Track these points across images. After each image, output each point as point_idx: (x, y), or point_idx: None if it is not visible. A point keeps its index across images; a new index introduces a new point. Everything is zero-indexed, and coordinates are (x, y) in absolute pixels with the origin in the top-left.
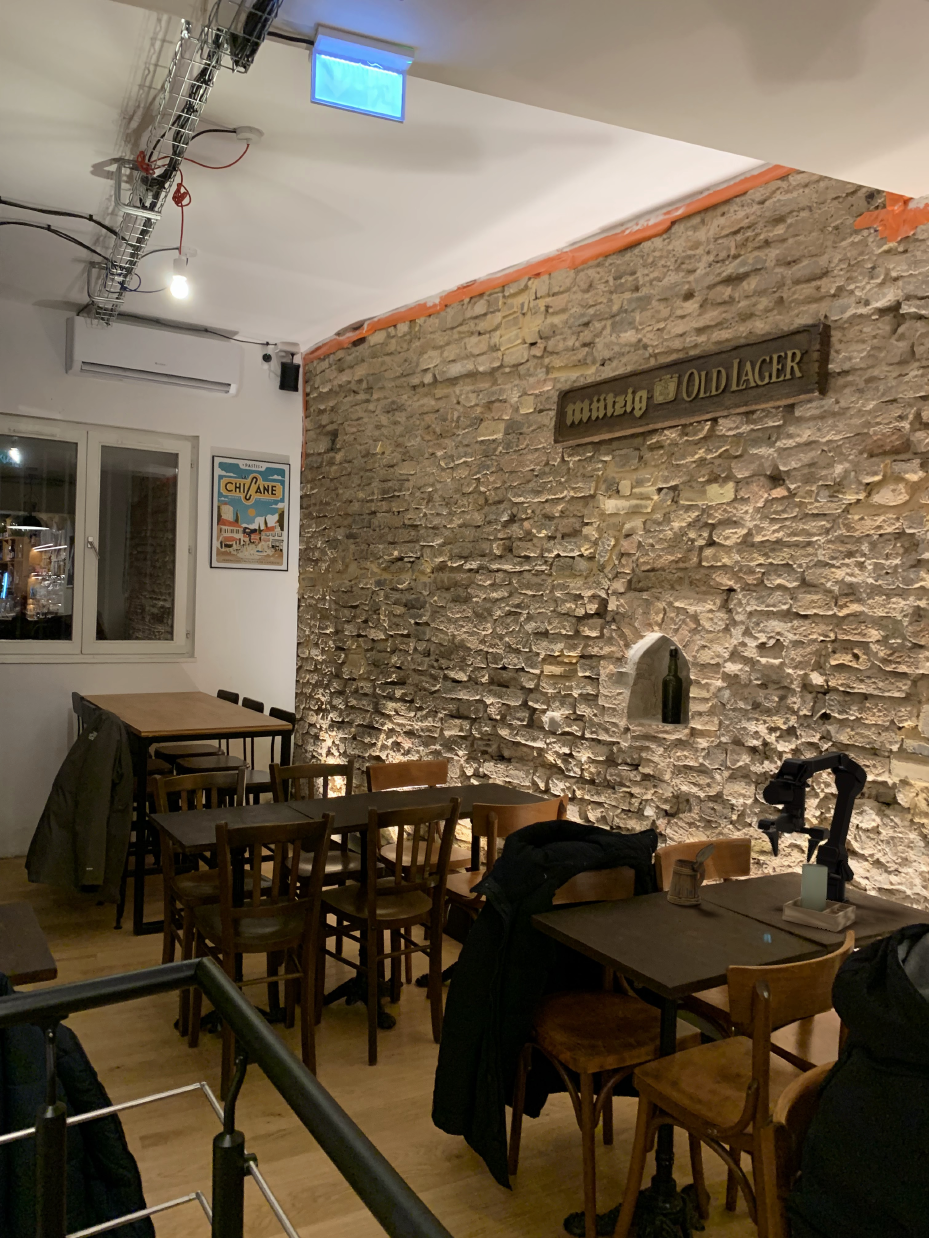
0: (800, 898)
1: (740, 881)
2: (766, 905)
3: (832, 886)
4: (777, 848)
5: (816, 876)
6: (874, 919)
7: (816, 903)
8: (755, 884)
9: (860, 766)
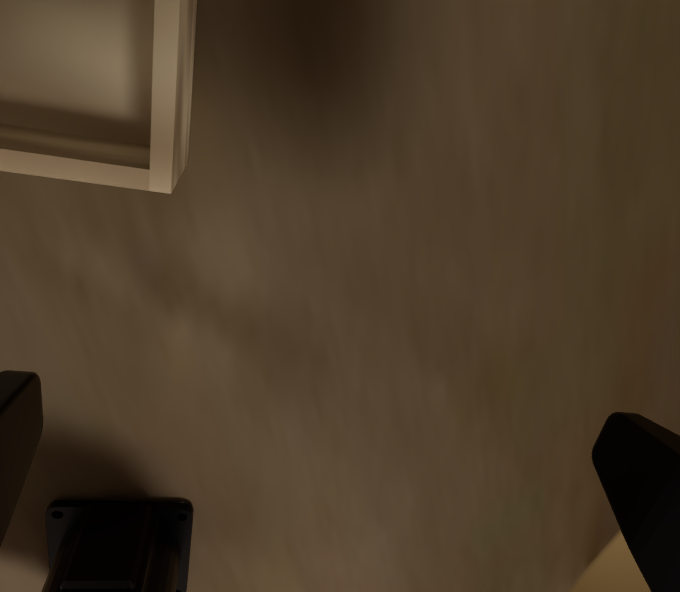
0: (154, 32)
1: None
2: (449, 78)
3: (85, 575)
4: (672, 574)
5: None
6: None
7: None
8: (551, 521)
9: None
